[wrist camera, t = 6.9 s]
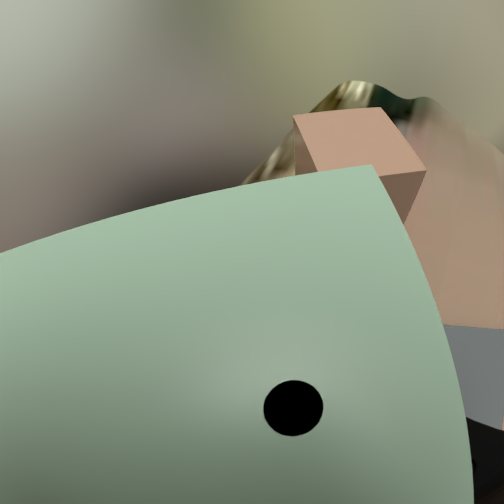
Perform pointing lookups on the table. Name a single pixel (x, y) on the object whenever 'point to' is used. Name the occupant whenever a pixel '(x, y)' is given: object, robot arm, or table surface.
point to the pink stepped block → (359, 150)
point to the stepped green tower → (231, 356)
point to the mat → (479, 371)
